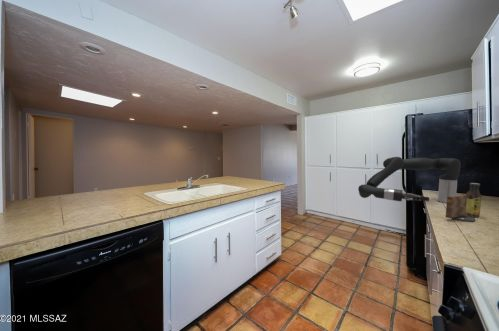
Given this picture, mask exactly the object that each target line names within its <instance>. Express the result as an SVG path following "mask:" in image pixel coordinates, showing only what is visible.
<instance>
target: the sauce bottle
mask: <svg viewBox="0 0 499 331" xmlns="http://www.w3.org/2000/svg"><path fill="white" fill-rule="evenodd" d="M480 187H481V183H477V182H470V183H469V190H468V191H467V192H466V193H465V195H467V203H466V214H467V215H468V216H471V217H474V218H479V217H480V215H481V209H482V195H481V193H480Z"/></svg>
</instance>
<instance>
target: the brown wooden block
mask: <svg viewBox="0 0 499 331" xmlns="http://www.w3.org/2000/svg"><path fill="white" fill-rule="evenodd" d="M466 203H467V195H466V194H456V196H447V203H446V204H445V205H446V207H445V217H446V218H447V219H451V218H454V217H460V216H462V217H467V214H466Z"/></svg>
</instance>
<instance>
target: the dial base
mask: <svg viewBox="0 0 499 331" xmlns="http://www.w3.org/2000/svg"><path fill="white" fill-rule="evenodd" d="M450 219H452V220H455V221H460V222H464V223H465V222H466V223H475V222H476V217H471V216H468V215H467V217H462V216H460V217H454V218H450Z"/></svg>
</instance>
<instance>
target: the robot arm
mask: <svg viewBox="0 0 499 331" xmlns="http://www.w3.org/2000/svg"><path fill="white" fill-rule="evenodd" d="M382 166H383V167H384V168H383V169H382V170H380V171H378V172H376V173H375V174H373V175H372V176H371V177H370V178H369V179H368V180H367V181H366V184H364V183H363V184H361V185H359V186H358V189H357V190H358V194H359V196H360V197H361V198H363V199H368V198H369V197H370V196H371V195H372V196H374V197H375V198H377V199H382V200H389V201H394V202H402V201H403V200H406V201H409V202H411V201H413V202H420V201H423V202H429V201H430V197H428V196H422V195H419V194H416V193H415V194H414V193H412V192H410V193H409V192H405V193H403V190H402V189H395V188H383V187H378V186H380V185H381V183H383V182H384V181H385V180H387V179H388V178H389V177H390V176H391V175H393V174H394V173H395V172H397V171H399V170H411V171H412V170H413V171H428V170H431V169H432V170H442V171H446V173H444V174H441V175H439V182H438V195H437V197H438V198H437V201H438V202H439V201H440V203H444V204H447V196H456V195H457V190H458V179H459V176H460V172H461V166H462V165H461V161H460V159H457V158H450V157H442V158H430V157H411V158H410V157H409V158H404V159H403V158H402V157H400V156H393V157H388V158H386V159H384V161H383V162H382Z"/></svg>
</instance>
